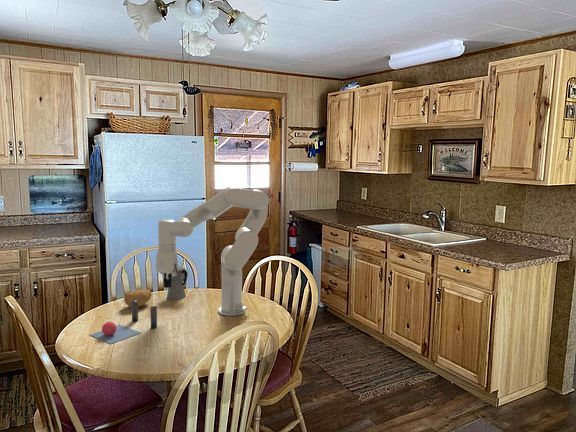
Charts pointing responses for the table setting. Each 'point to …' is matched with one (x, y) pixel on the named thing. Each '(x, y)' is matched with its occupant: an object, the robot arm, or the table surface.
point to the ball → (109, 328)
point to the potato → (138, 297)
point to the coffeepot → (178, 284)
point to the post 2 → (153, 316)
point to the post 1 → (134, 310)
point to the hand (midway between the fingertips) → (167, 287)
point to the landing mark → (116, 334)
